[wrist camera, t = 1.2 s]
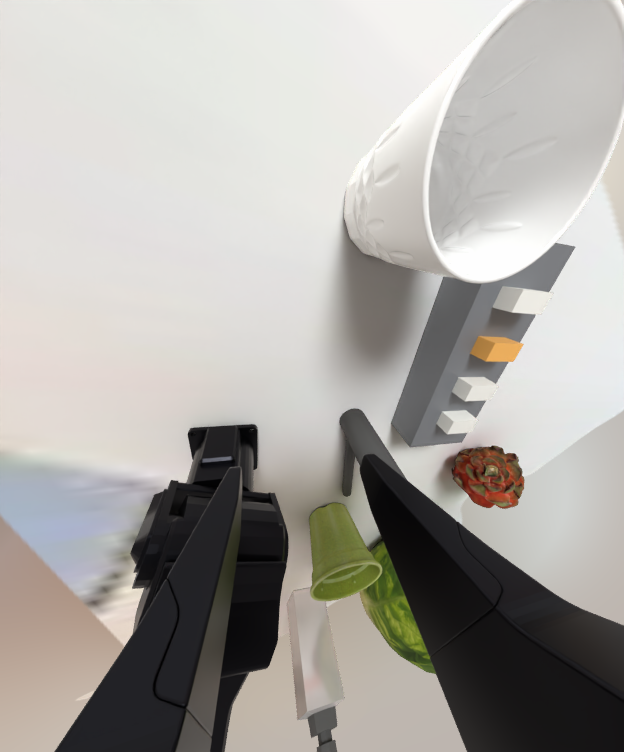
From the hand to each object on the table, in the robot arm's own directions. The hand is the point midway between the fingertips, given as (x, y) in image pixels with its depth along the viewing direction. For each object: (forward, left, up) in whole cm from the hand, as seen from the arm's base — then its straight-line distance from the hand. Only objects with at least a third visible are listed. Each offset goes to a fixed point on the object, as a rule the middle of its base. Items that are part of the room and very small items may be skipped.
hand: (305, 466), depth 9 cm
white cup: (+11, -7, -13) cm, 19 cm away
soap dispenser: (-58, -7, -13) cm, 60 cm away
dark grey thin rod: (-17, -10, -13) cm, 24 cm away
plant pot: (-28, -9, -13) cm, 32 cm away
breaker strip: (0, -18, -13) cm, 22 cm away
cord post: (-9, -9, -13) cm, 18 cm away
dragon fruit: (-18, -31, -13) cm, 38 cm away
